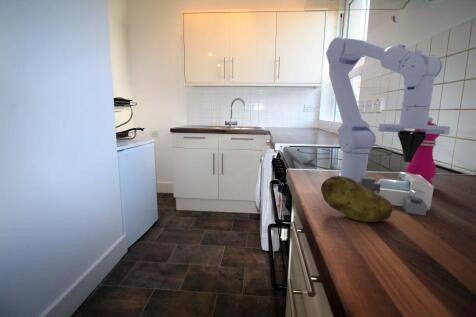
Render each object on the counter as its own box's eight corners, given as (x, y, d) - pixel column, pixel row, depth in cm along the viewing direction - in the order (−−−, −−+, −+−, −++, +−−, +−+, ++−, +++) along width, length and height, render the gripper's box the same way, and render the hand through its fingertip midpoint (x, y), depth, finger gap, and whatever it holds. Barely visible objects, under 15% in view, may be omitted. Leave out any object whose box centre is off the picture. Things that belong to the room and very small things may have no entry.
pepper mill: (423, 182, 79) (434, 117, 76) (439, 189, 72) (452, 117, 69) (399, 181, 80) (408, 116, 76) (412, 188, 73) (423, 117, 69)
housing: (373, 189, 71) (376, 167, 69) (416, 194, 67) (420, 171, 66) (381, 209, 56) (384, 182, 55) (436, 217, 53) (441, 188, 52)
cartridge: (358, 192, 67) (360, 174, 66) (414, 199, 62) (417, 180, 61) (359, 196, 63) (362, 178, 62) (418, 204, 59) (421, 185, 58)
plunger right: (405, 206, 57) (408, 188, 57) (420, 209, 56) (423, 190, 56) (408, 211, 55) (411, 192, 54) (423, 213, 54) (426, 194, 53)
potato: (385, 234, 45) (391, 190, 43) (314, 214, 53) (317, 177, 51) (392, 219, 51) (397, 180, 50) (328, 203, 59) (331, 170, 58)
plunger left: (395, 186, 68) (398, 171, 67) (408, 188, 67) (410, 172, 66) (397, 189, 66) (400, 173, 65) (410, 191, 65) (413, 175, 64)
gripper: (384, 106, 61) (377, 161, 64) (459, 107, 56) (448, 167, 59) (380, 106, 68) (373, 157, 70) (447, 107, 63) (437, 162, 65)
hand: (407, 161), depth 65 cm, fingers closed
